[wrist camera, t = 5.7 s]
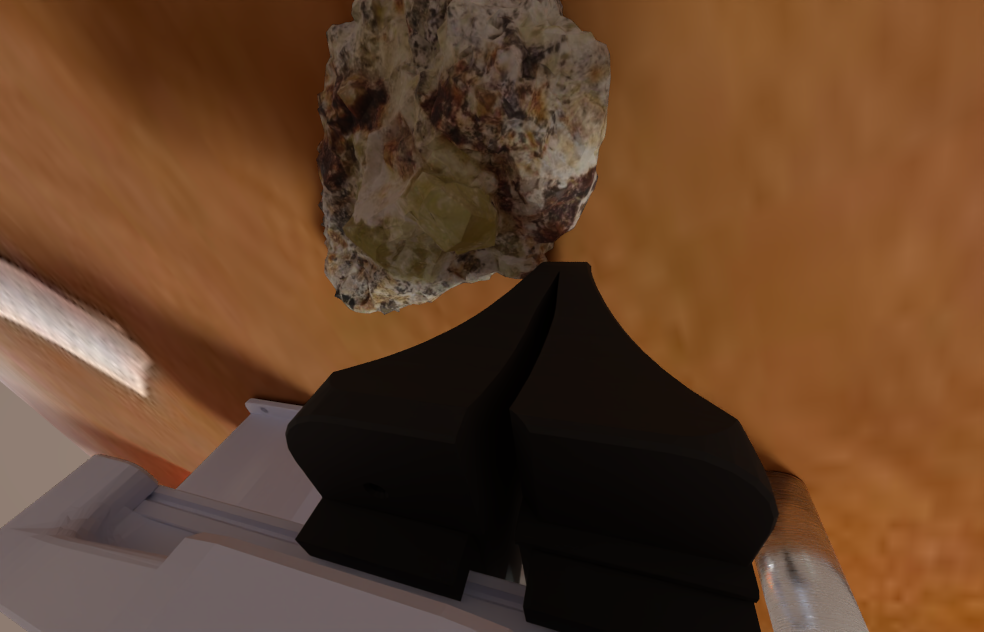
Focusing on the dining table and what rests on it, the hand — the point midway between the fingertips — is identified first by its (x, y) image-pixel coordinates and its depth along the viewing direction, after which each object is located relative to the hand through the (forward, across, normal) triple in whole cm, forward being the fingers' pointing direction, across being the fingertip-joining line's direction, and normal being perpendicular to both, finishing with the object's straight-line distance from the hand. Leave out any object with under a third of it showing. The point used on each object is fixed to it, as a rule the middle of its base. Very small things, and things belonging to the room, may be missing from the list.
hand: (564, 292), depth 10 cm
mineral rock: (+2, +4, -3) cm, 5 cm away
